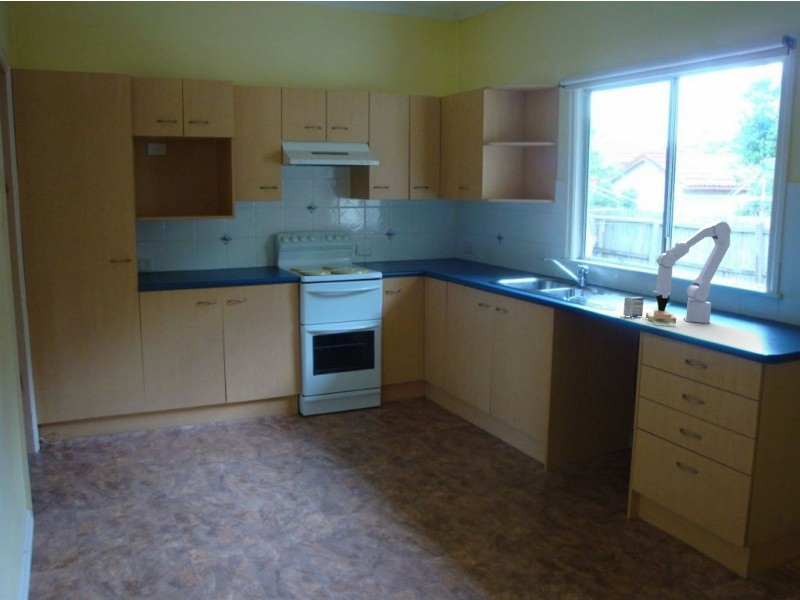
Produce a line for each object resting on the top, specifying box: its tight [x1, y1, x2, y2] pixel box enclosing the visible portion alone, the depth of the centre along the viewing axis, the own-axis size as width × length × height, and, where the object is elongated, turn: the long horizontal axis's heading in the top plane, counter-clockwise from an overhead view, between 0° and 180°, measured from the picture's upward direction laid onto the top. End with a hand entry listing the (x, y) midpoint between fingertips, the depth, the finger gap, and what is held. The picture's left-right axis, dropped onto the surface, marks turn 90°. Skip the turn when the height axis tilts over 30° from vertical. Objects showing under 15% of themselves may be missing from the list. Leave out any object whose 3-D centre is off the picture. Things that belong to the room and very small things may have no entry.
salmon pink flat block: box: [653, 309, 672, 319], centre depth 312 cm, size 6×9×2 cm, turn 167°
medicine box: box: [623, 296, 645, 318], centre depth 322 cm, size 8×4×9 cm, turn 126°
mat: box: [652, 321, 676, 328], centre depth 307 cm, size 8×10×1 cm
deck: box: [645, 311, 677, 324], centre depth 317 cm, size 11×11×2 cm
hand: (661, 312), depth 317 cm, fingers closed
